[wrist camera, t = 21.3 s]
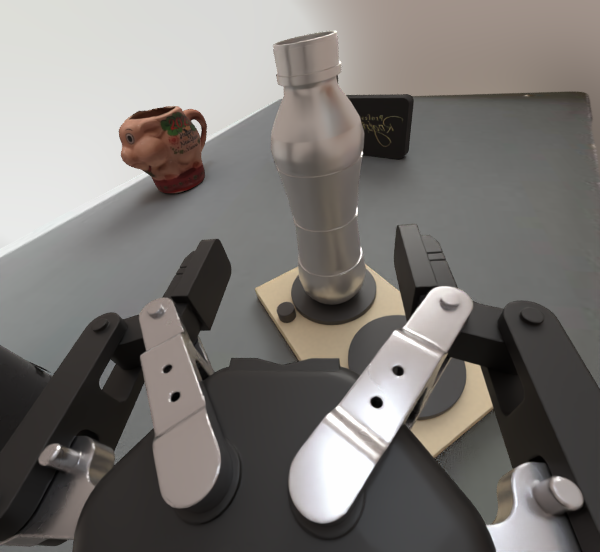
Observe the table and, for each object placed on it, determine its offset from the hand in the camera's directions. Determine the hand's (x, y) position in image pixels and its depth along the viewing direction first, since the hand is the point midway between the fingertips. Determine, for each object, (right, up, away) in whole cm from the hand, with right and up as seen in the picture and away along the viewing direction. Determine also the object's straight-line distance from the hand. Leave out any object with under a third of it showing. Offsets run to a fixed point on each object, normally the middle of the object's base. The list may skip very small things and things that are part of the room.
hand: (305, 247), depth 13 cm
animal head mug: (-25, +20, +49) cm, 58 cm away
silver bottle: (+3, -3, +16) cm, 17 cm away
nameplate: (+11, +24, +45) cm, 52 cm away
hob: (+5, -7, +14) cm, 17 cm away
